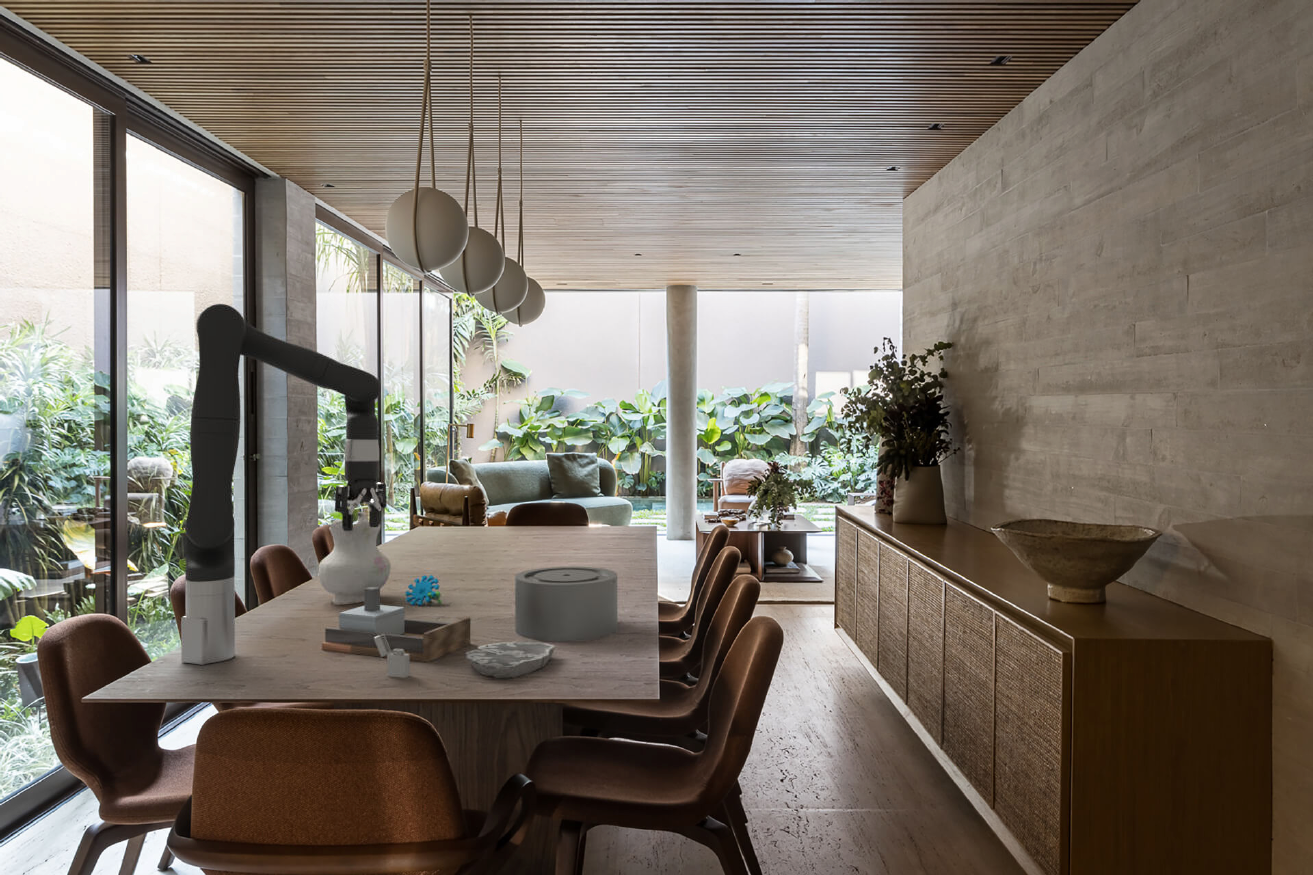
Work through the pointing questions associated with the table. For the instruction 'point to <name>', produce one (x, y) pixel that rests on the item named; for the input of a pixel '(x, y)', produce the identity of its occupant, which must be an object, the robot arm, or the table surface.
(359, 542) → the white scalloped vase
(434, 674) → the table surface
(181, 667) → the table surface
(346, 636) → the bay
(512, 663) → the grey flat stone
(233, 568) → the robot arm
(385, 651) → the lighter
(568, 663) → the table surface
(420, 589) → the blue spiky round piece
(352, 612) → the block with peg
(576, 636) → the container
